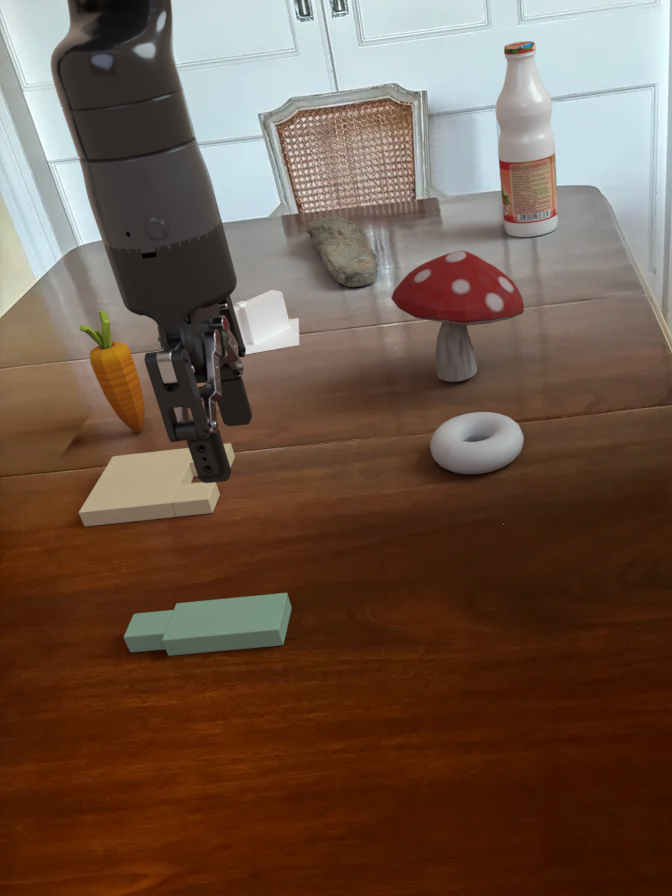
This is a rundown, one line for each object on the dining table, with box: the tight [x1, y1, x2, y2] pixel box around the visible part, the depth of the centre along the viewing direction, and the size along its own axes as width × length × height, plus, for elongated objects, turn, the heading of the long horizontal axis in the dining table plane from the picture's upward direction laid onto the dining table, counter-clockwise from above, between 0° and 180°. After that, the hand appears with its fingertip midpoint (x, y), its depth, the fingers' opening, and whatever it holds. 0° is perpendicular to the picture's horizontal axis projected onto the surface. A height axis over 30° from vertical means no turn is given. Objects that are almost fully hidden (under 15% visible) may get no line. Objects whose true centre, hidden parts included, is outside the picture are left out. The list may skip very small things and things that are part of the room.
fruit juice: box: [495, 40, 559, 238], centre depth 148 cm, size 9×9×28 cm
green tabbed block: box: [123, 592, 292, 657], centre depth 77 cm, size 14×5×2 cm, turn 90°
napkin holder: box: [233, 289, 300, 356], centre depth 130 cm, size 15×11×6 cm
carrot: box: [79, 310, 146, 435], centre depth 107 cm, size 5×5×15 cm
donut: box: [429, 411, 525, 475], centre depth 95 cm, size 10×4×10 cm
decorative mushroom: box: [390, 250, 525, 383], centre depth 108 cm, size 16×16×15 cm
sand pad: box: [78, 442, 236, 528], centre depth 98 cm, size 14×12×2 cm
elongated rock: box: [305, 216, 379, 288], centre depth 155 cm, size 35×5×10 cm
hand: (228, 450), depth 67 cm, fingers open, 8 cm apart
